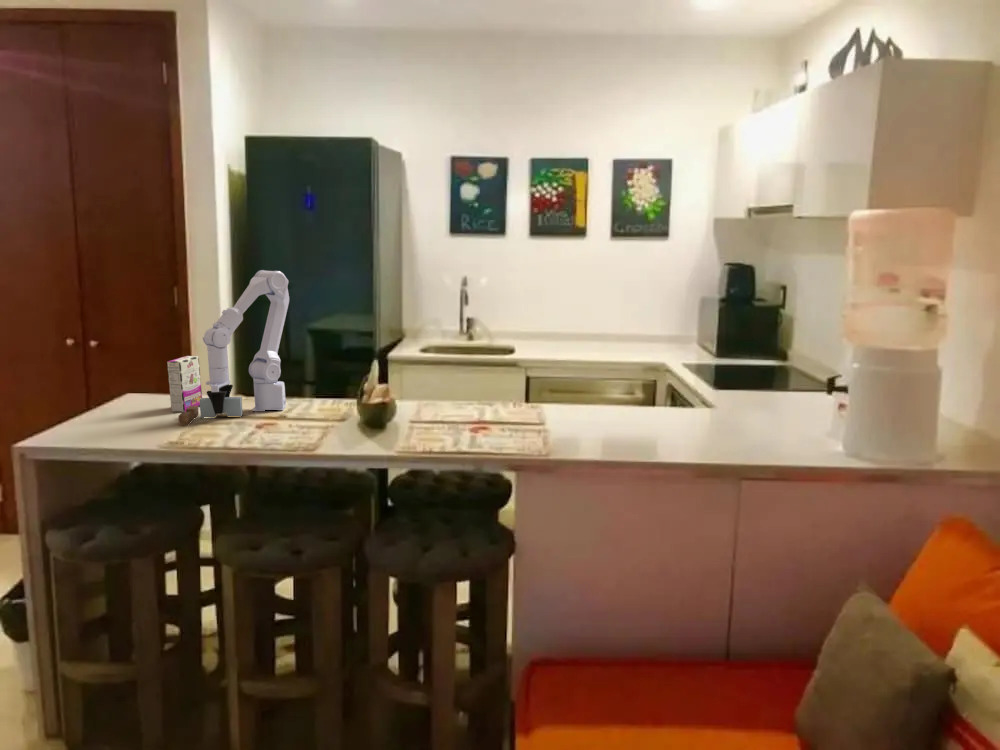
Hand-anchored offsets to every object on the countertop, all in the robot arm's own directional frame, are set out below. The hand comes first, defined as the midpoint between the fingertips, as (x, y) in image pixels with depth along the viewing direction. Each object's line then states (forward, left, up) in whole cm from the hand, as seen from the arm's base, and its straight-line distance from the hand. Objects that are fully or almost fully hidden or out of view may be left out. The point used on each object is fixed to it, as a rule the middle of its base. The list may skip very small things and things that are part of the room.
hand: (221, 411), depth 264 cm
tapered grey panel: (0, 0, -2) cm, 2 cm away
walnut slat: (+9, +3, -2) cm, 10 cm away
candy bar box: (+14, -15, -2) cm, 21 cm away
